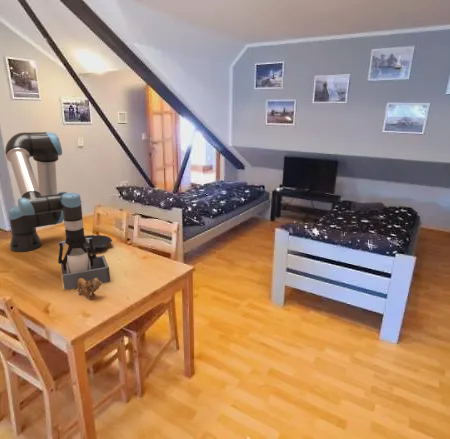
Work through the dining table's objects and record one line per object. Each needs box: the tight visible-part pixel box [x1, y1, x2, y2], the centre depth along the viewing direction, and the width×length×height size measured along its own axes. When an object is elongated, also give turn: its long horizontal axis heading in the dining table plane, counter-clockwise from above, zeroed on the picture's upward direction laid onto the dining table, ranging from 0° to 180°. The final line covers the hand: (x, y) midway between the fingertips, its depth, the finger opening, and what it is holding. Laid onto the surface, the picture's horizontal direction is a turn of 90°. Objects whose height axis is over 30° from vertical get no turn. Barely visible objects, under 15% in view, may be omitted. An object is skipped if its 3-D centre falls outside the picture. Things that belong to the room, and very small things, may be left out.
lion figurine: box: [73, 278, 103, 300], centre depth 142 cm, size 15×5×9 cm, turn 68°
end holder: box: [60, 255, 111, 291], centre depth 156 cm, size 14×20×7 cm
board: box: [80, 234, 113, 254], centre depth 190 cm, size 22×22×5 cm
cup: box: [67, 248, 88, 273], centre depth 153 cm, size 9×9×12 cm
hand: (79, 274), depth 155 cm, fingers closed on cup, 9 cm apart
